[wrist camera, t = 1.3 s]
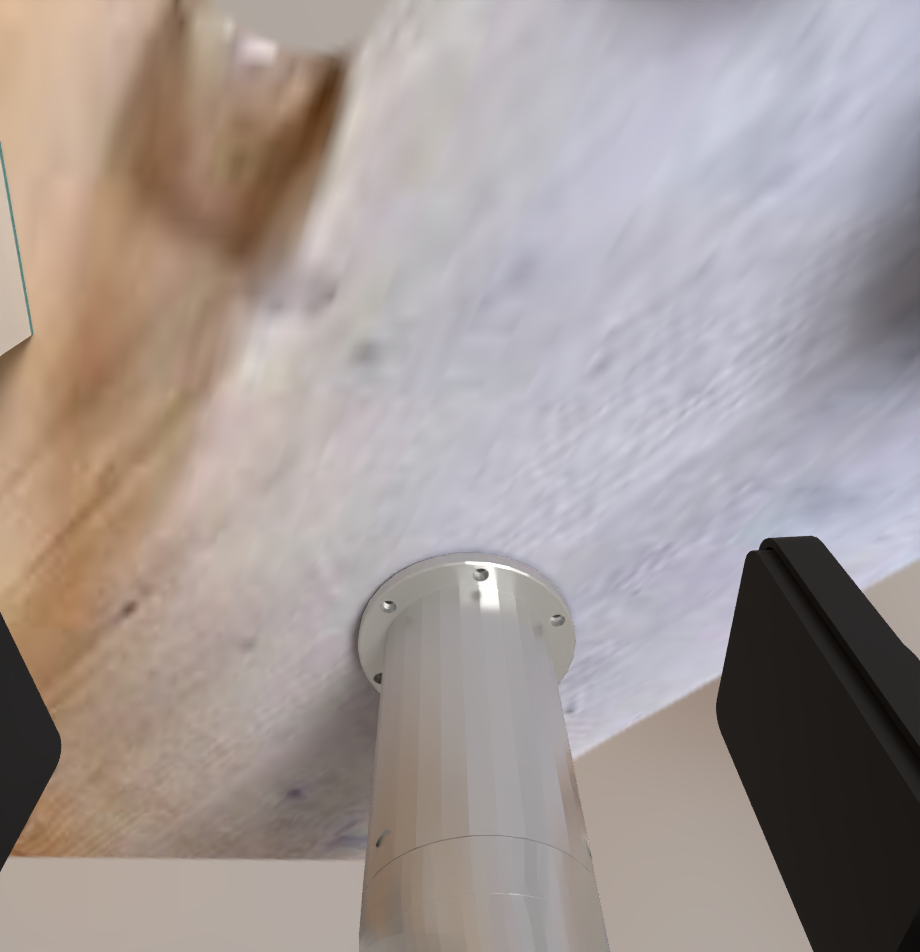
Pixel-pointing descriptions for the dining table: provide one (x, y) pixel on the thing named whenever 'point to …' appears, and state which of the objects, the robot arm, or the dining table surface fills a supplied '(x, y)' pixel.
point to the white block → (11, 276)
